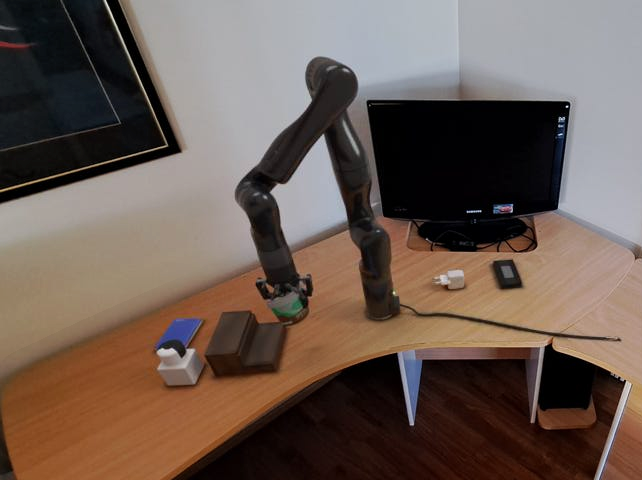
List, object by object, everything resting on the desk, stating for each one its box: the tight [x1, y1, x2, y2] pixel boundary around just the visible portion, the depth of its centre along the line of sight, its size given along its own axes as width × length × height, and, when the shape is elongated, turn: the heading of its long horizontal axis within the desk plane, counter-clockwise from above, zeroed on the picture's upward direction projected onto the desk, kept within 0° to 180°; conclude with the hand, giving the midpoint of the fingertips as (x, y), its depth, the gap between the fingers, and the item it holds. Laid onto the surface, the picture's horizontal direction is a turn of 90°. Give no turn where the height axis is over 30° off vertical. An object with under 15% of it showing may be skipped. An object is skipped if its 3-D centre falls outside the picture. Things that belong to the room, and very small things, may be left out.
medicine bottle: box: [155, 340, 205, 387], centre depth 120 cm, size 7×7×12 cm
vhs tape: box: [492, 258, 523, 290], centre depth 162 cm, size 8×14×2 cm, turn 11°
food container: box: [265, 281, 310, 328], centre depth 121 cm, size 12×6×10 cm, turn 170°
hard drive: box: [153, 318, 204, 352], centre depth 134 cm, size 2×8×12 cm
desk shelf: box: [203, 309, 287, 378], centre depth 128 cm, size 16×17×9 cm
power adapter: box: [431, 269, 465, 290], centre depth 155 cm, size 11×5×6 cm, turn 102°
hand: (293, 307), depth 122 cm, fingers closed on food container, 6 cm apart
